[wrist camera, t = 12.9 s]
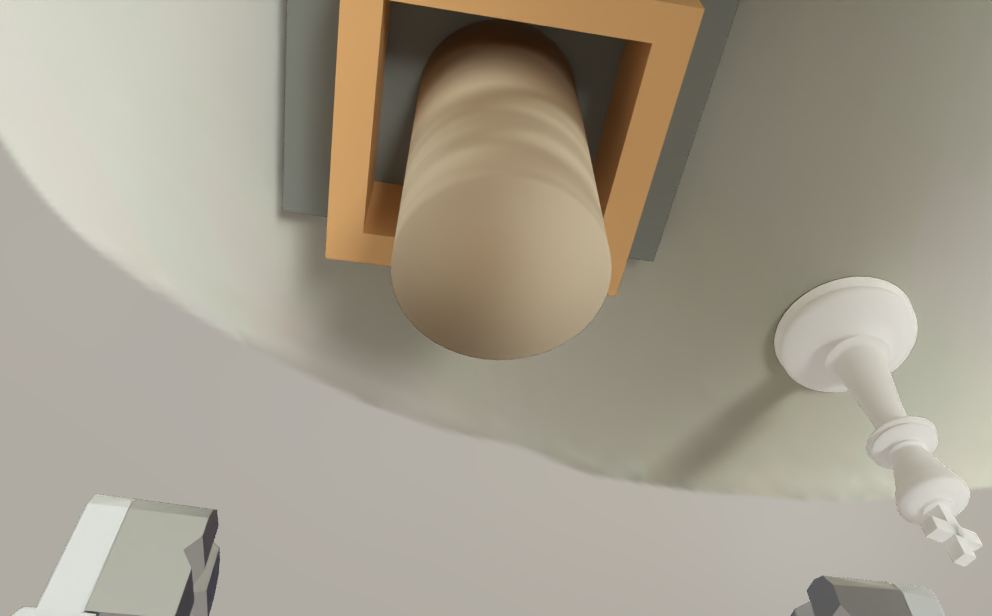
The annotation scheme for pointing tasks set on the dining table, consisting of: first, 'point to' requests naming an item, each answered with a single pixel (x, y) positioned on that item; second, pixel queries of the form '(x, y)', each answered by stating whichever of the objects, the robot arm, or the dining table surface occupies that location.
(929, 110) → the dining table surface
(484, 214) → the wooden peg
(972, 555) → the chess piece
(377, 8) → the base
